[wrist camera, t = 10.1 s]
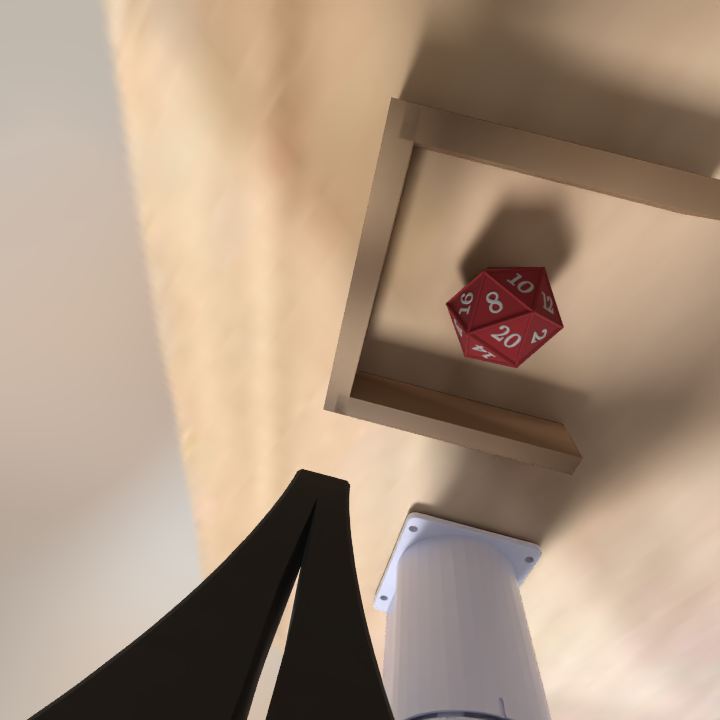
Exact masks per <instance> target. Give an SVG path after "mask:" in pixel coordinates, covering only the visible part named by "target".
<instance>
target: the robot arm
mask: <svg viewBox="0 0 720 720" xmlns="http://www.w3.org/2000/svg"><path fill="white" fill-rule="evenodd" d="M349 491H350V484H349V483H348V481H346V480H342V479H338V478H335V477H331V476H327V475H323V474H319V473H316V472H312V471H308V470H304V469H301V470H299V471H297V473H296V475H295V476H294V478H293V480H292V481H291V483H290V484H289V486H288V487H287V489H286V490H285V492H284V493H283V494H282V496H281V497H280V498H279V500H278V501H277V502H276V503H275V505H274V506H273V507H272V509H271V510H270V511H269V512H268V513H267V514H266V516H265V517H264V518H263V519H262V520H261V522H260V523H259V524H258V525H257V526H256V527H255V529H254V530H253V531H252V532H251V533H250V534H249V535H248V536H247V538H246V539H245V540H244V541H243V542H242V543H241V544H240V545H239V546H238V547H237V548H236V549H235V550H234V551H233V552H232V553H231V554H230V555H229V556H228V558H227V559H226V560H225V561H224V562H223V563H222V564H221V565H220V566H219V567H218V568H217V569H216V570H215V571H214V572H213V573H211V574H210V575H209V576H208V577H207V578H206V579H205V580H204V581H203V582H202V583H201V584H200V585H199V586H198V587H197V588H196V589H194V590H193V591H192V592H191V593H190V594H189V595H188V596H187V597H186V598H184V599H183V600H182V601H181V602H180V603H179V604H178V605H176V606H175V607H174V608H173V609H172V610H171V611H170V612H168V613H167V614H166V615H165V616H164V617H162V618H161V619H160V620H159V621H158V622H157V623H156V624H154V625H153V626H152V627H151V628H150V629H148V630H147V631H146V632H145V633H143V634H142V635H141V636H140V637H138V638H137V639H136V640H135V641H133V642H132V643H131V644H130V645H128V646H127V647H126V648H125V649H123V650H122V651H120V652H119V653H118V654H116V655H115V656H114V657H113V658H111V659H110V660H109V661H107V662H106V663H105V664H103V665H102V666H101V667H99V668H98V669H97V670H96V671H94V672H93V673H92V674H90V675H89V676H88V677H86V678H85V679H84V680H82V681H81V682H80V683H78V684H77V685H76V686H74V687H73V688H72V689H70V690H69V691H67V692H66V693H65V694H64V695H62V696H60V697H59V698H58V699H56V700H55V701H54V702H52V703H50V704H49V705H48V706H46V707H45V708H43V709H42V710H40V711H39V712H37V713H36V714H34V715H33V716H32V717H30V718H29V719H27V720H247V717H248V714H249V711H250V707H251V704H252V701H253V697H254V693H255V691H256V687H257V684H258V681H259V678H260V675H261V672H262V669H263V666H264V663H265V660H266V657H267V655H268V652H269V649H270V647H271V644H272V641H273V639H274V636H275V634H276V631H277V628H278V626H279V623H280V620H281V618H282V615H283V612H284V610H285V607H286V604H287V602H288V599H289V596H290V594H291V591H292V589H293V586H294V583H295V581H296V578H297V575H298V573H299V570H300V574H299V579H298V584H297V589H296V594H295V600H294V605H293V610H292V615H291V620H290V625H289V630H288V636H287V641H286V646H285V651H284V655H283V658H282V662H281V666H280V669H279V673H278V677H277V680H276V684H275V688H274V691H273V695H272V699H271V702H270V706H269V709H268V713H267V716H266V720H551V716H550V712H549V708H548V704H547V700H546V696H545V692H544V688H543V684H542V680H541V676H540V672H539V668H538V664H537V660H536V656H535V652H534V647H533V643H532V639H531V635H530V631H529V627H528V623H527V619H526V615H525V611H524V607H523V603H522V599H521V595H520V591H519V587H520V586H521V584H522V583H523V581H524V580H525V578H526V577H527V576H528V574H529V573H530V571H531V570H532V568H533V567H534V565H535V564H536V562H537V561H538V560H539V558H540V557H541V554H542V553H541V550H540V547H539V546H538V545H536V544H534V543H530V542H526V541H523V540H519V539H515V538H511V537H508V536H504V535H500V534H496V533H493V532H489V531H485V530H481V529H478V528H474V527H470V526H466V525H463V524H459V523H455V522H451V521H448V520H444V519H440V518H436V517H432V516H429V515H425V514H421V513H417V512H413V513H410V514H409V515H408V516H407V519H406V521H405V524H404V526H403V529H402V531H401V533H400V536H399V538H398V541H397V543H396V546H395V548H394V551H393V553H392V556H391V558H390V561H389V563H388V565H387V568H386V570H385V573H384V575H383V578H382V580H381V583H380V585H379V588H378V590H377V593H376V595H375V597H374V601H373V606H374V608H375V609H377V610H380V611H383V612H387V616H386V631H385V647H384V663H383V678H381V675H380V671H379V668H378V664H377V661H376V657H375V654H374V650H373V646H372V642H371V638H370V635H369V631H368V627H367V622H366V618H365V614H364V609H363V605H362V600H361V595H360V590H359V585H358V579H357V574H356V568H355V561H354V554H353V546H352V539H351V529H350V515H349ZM413 526H415V527H413ZM300 567H301V569H300Z"/></svg>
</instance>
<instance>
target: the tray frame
mask: <svg viewBox="0 0 720 720" xmlns="http://www.w3.org/2000/svg"><path fill="white" fill-rule="evenodd" d="M414 146H416V147H420V148H424V149H428V150H432V151H436V152H440V153H444V154H448V155H452V156H456V157H460V158H464V159H468V160H472V161H476V162H480V163H483V164H487V165H491V166H495V167H499V168H503V169H507V170H511V171H515V172H519V173H523V174H527V175H531V176H535V177H539V178H543V179H547V180H551V181H555V182H559V183H563V184H567V185H571V186H575V187H578V188H582V189H586V190H590V191H594V192H598V193H602V194H606V195H610V196H614V197H618V198H622V199H626V200H630V201H634V202H638V203H642V204H646V205H650V206H654V207H658V208H662V209H666V210H670V211H674V212H677V213H681V214H685V215H691V216H697V217H703V218H709V219H715V220H720V180H718V179H714V178H711V177H707V176H703V175H699V174H695V173H691V172H687V171H683V170H679V169H675V168H671V167H667V166H663V165H659V164H655V163H651V162H647V161H643V160H639V159H635V158H631V157H627V156H623V155H619V154H615V153H611V152H607V151H603V150H599V149H595V148H591V147H587V146H583V145H579V144H575V143H571V142H567V141H563V140H559V139H555V138H551V137H547V136H543V135H539V134H535V133H531V132H527V131H523V130H519V129H515V128H511V127H507V126H503V125H499V124H495V123H491V122H487V121H483V120H479V119H475V118H471V117H467V116H463V115H459V114H455V113H451V112H448V111H444V110H440V109H436V108H432V107H428V106H424V105H420V104H416V103H412V102H408V101H404V100H400V99H396V98H392V97H391V102H390V106H389V111H388V115H387V120H386V125H385V129H384V134H383V138H382V143H381V148H380V152H379V157H378V161H377V166H376V171H375V175H374V180H373V184H372V189H371V193H370V198H369V203H368V207H367V212H366V216H365V221H364V226H363V230H362V235H361V239H360V244H359V249H358V253H357V258H356V262H355V267H354V271H353V276H352V281H351V285H350V290H349V294H348V299H347V304H346V308H345V313H344V317H343V322H342V327H341V331H340V336H339V340H338V345H337V349H336V354H335V359H334V363H333V368H332V372H331V377H330V382H329V386H328V391H327V395H326V400H325V405H324V410H327V411H331V412H335V413H339V414H343V415H346V416H350V417H354V418H358V419H362V420H365V421H369V422H373V423H377V424H381V425H384V426H388V427H392V428H396V429H400V430H403V431H407V432H411V433H415V434H419V435H422V436H426V437H430V438H434V439H438V440H441V441H445V442H449V443H453V444H457V445H460V446H464V447H468V448H472V449H476V450H479V451H483V452H487V453H491V454H495V455H498V456H502V457H506V458H510V459H514V460H517V461H521V462H525V463H529V464H533V465H536V466H540V467H544V468H548V469H552V470H555V471H559V472H563V473H567V474H571V475H572V474H573V472H574V471H575V469H576V468H577V466H578V465H579V463H580V461H581V460H582V456H581V455H580V453H579V451H578V449H577V448H576V446H575V444H574V442H573V441H572V439H571V437H570V436H569V434H568V432H567V430H566V429H565V427H564V425H563V424H560V423H556V422H552V421H548V420H544V419H540V418H537V417H533V416H529V415H525V414H521V413H517V412H514V411H510V410H506V409H502V408H498V407H495V406H491V405H487V404H483V403H479V402H475V401H472V400H468V399H464V398H460V397H456V396H452V395H449V394H445V393H441V392H437V391H433V390H430V389H426V388H422V387H418V386H414V385H410V384H407V383H403V382H399V381H395V380H391V379H387V378H384V377H380V376H376V375H372V374H368V373H365V372H361V371H357V369H358V365H359V361H360V357H361V353H362V349H363V345H364V341H365V337H366V333H367V329H368V325H369V321H370V317H371V313H372V310H373V306H374V302H375V298H376V294H377V290H378V286H379V282H380V278H381V274H382V270H383V266H384V262H385V258H386V254H387V250H388V246H389V242H390V238H391V234H392V231H393V227H394V223H395V219H396V215H397V211H398V207H399V203H400V199H401V195H402V191H403V187H404V183H405V179H406V175H407V171H408V167H409V163H410V159H411V155H412V151H413V148H414Z"/></svg>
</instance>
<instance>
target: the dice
mask: <svg viewBox="0 0 720 720" xmlns="http://www.w3.org/2000/svg"><path fill="white" fill-rule="evenodd" d="M446 305H447V307H448V310H449V313H450V316H451V319H452V322H453V324H454V327H455V330H456V333H457V336H458V339H459V341H460V344H461V347H462V350H463V353H464V357H468V358H473V359H478V360H482V361H487V362H492V363H496V364H501V365H505V366H510V367H514V368H518V367H519V366H520V365H521V364H522V363H523V362H524V361H525V360H526V359H528V358H529V357H530V356H531V355H532V354H533V353H535V352H536V351H537V350H538V349H539V348H540V347H541V346H543V345H544V344H545V343H546V342H547V341H548V340H550V339H551V338H552V337H553V336H554V335H555V334H556V333H558V332H559V331H560V330H561V329H562V328H564V326H563V324H562V320H561V317H560V314H559V311H558V308H557V305H556V302H555V299H554V296H553V292H552V289H551V286H550V283H549V280H548V277H547V274H546V270H545V267H488V268H487V269H485V270H483V271H482V272H481V273H480V274H479V275H478V276H477V277H475V278H474V279H473V280H472V281H471V282H470V283H469V284H467V285H466V286H465V287H464V288H463V289H462V290H461V291H460V292H458V293H457V294H456V295H455V296H454V297H453V298H452V299H451V300H449V301H448V302H447V303H446Z"/></svg>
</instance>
